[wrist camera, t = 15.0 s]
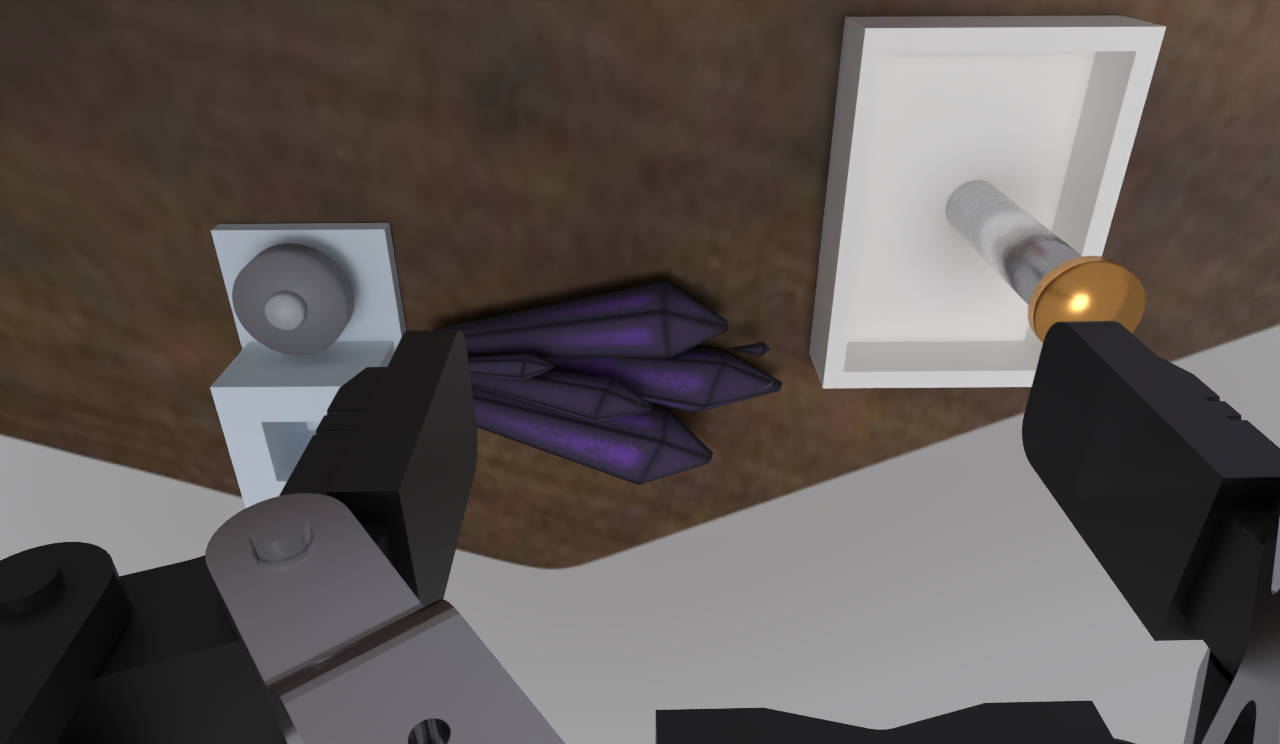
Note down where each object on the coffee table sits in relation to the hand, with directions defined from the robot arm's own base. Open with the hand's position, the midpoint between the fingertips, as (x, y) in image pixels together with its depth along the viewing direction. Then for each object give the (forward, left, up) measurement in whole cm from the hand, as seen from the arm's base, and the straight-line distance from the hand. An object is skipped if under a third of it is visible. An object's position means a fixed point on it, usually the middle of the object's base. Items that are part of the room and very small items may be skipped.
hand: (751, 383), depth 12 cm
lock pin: (+8, +16, -32) cm, 37 cm away
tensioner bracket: (+16, -19, -33) cm, 41 cm away
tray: (+8, +15, -33) cm, 37 cm away
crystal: (+17, -3, -33) cm, 37 cm away
